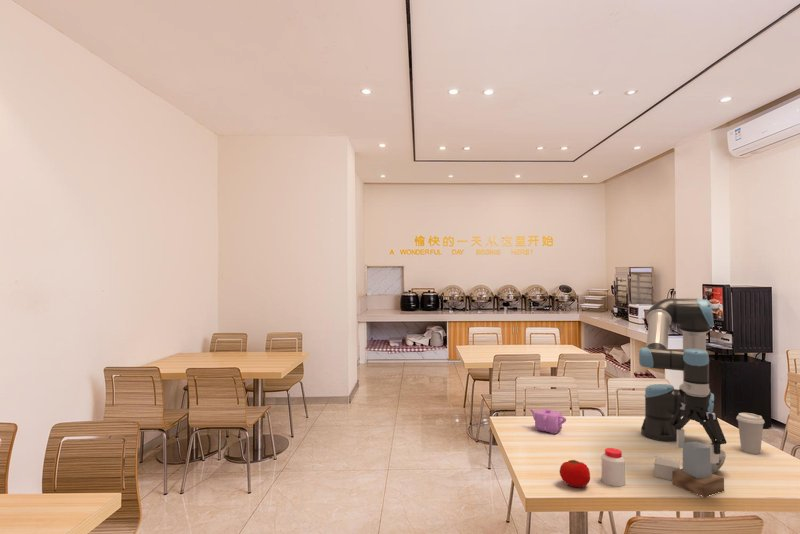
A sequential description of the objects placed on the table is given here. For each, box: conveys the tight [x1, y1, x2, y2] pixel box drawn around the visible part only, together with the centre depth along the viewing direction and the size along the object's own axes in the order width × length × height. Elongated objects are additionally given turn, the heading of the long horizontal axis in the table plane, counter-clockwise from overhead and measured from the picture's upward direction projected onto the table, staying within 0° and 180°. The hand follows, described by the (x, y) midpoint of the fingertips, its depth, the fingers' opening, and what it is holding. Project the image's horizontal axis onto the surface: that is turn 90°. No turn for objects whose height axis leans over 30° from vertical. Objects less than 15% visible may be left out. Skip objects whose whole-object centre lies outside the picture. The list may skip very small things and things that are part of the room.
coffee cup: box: [736, 412, 766, 455], centre depth 193 cm, size 10×10×15 cm
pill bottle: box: [601, 447, 626, 487], centre depth 164 cm, size 8×8×11 cm
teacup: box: [705, 444, 727, 474], centre depth 175 cm, size 15×12×8 cm
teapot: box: [528, 408, 567, 435], centre depth 219 cm, size 18×14×10 cm
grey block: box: [653, 455, 681, 481], centre depth 170 cm, size 8×8×5 cm
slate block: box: [682, 441, 713, 478], centre depth 160 cm, size 6×6×10 cm
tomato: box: [559, 459, 591, 488], centre depth 161 cm, size 9×10×8 cm
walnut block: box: [671, 467, 725, 499], centre depth 159 cm, size 11×11×5 cm
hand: (696, 454), depth 160 cm, fingers open, 13 cm apart
